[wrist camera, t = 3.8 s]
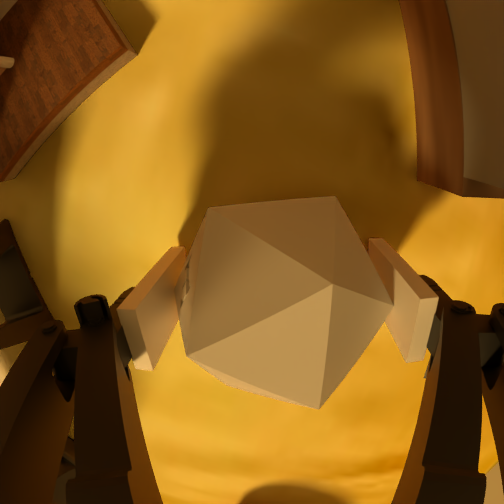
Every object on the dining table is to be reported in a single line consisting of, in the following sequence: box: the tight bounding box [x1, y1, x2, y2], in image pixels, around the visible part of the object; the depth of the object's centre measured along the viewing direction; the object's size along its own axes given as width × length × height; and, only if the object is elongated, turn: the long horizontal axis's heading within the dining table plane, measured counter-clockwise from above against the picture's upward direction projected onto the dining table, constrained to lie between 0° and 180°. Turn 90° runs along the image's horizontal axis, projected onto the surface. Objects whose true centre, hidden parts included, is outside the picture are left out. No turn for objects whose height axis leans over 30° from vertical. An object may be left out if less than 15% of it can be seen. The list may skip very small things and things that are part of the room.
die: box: [174, 196, 394, 409], centre depth 13 cm, size 8×9×10 cm
